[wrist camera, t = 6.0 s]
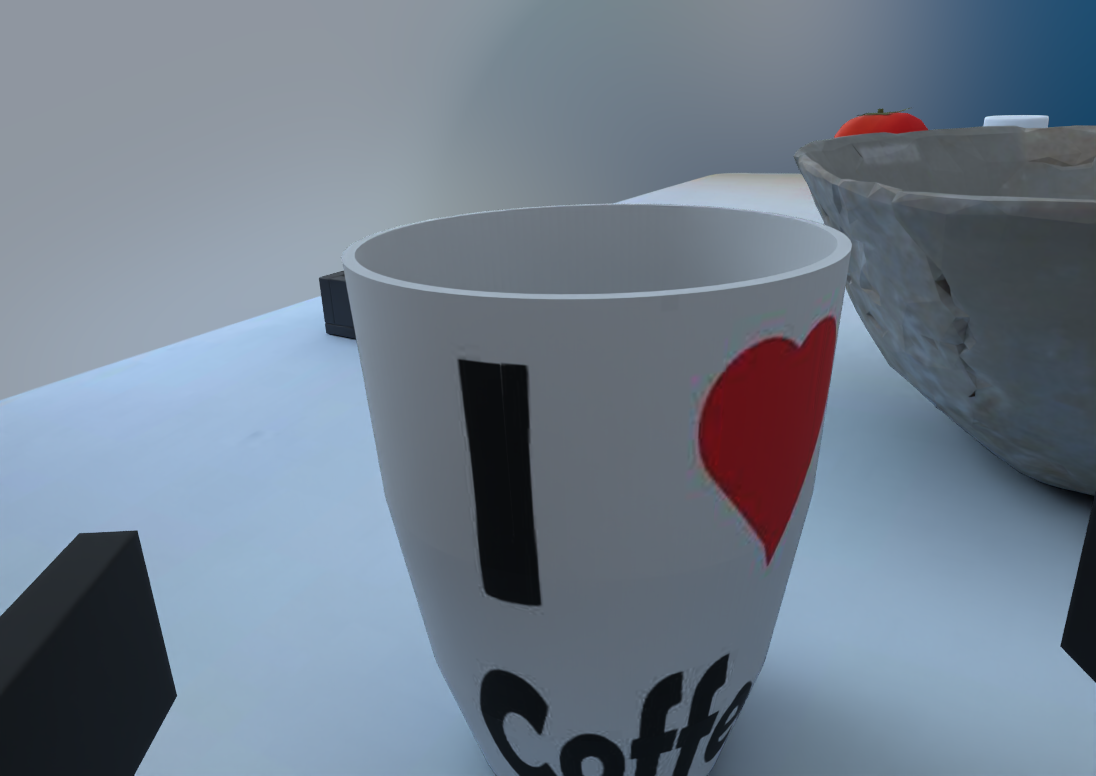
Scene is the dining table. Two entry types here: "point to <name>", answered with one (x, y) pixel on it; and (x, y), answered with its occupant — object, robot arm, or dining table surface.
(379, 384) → the cup
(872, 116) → the tomato
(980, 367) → the ceramic bowl
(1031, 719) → the dining table surface
